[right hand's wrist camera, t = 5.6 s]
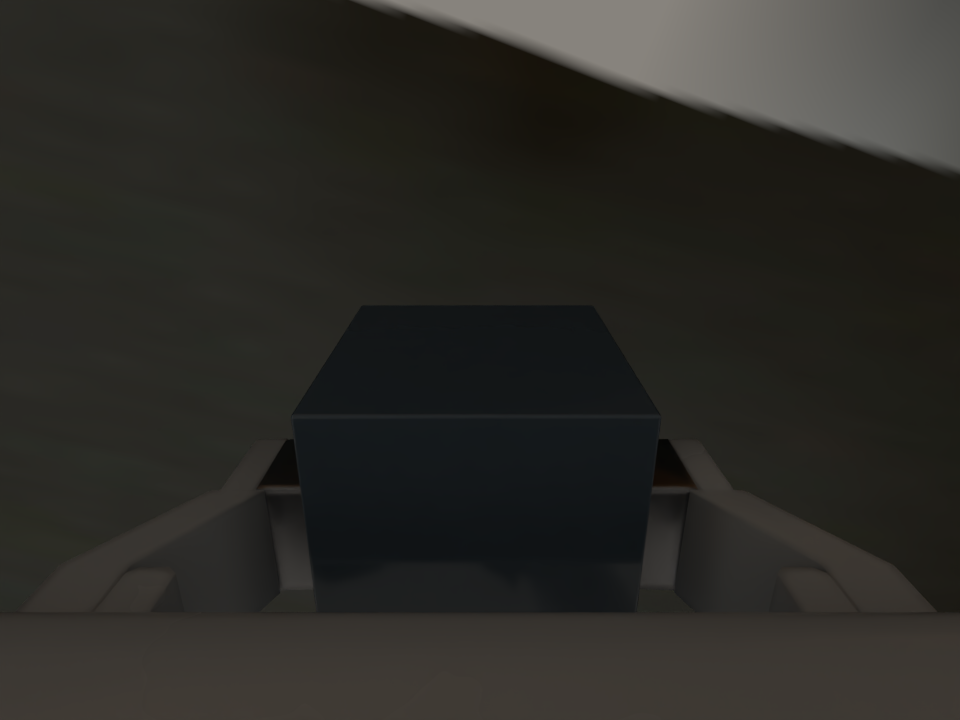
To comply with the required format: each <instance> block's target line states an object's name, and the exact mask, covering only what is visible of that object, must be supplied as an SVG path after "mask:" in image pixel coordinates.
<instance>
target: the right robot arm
mask: <svg viewBox="0 0 960 720" xmlns="http://www.w3.org/2000/svg"><path fill="white" fill-rule="evenodd" d="M297 589H313V582H312V574H311V567H310V559H309V552H308V544H307V536H306V529H305V521H304V514H303V506H302V498H301V491H300V483H299V476H298V468H297V460H296V453H295V445H294V439H290V440H288V439H260V440H256V441H255V442H254V443H253V445H252V446H251V447H250V449H249V450H248V452H247V453H246V454H245V456H244V457H243V459H242V460H241V461H240V463H239V464H238V466H237V467H236V468H235V470H234V471H233V473H232V474H231V475H230V477H229V478H228V480H227V481H226V482H225V484H224V485H223V487H222V488H221V489H220V490H210V491H208V492H206V493H204V494H202V495H200V496H198V497H196V498H194V499H192V500H190V501H188V502H186V503H184V504H182V505H180V506H178V507H176V508H174V509H172V510H170V511H168V512H166V513H164V514H161V515H159V516H157V517H155V518H153V519H151V520H149V521H147V522H145V523H143V524H141V525H139V526H137V527H135V528H133V529H131V530H129V531H127V532H125V533H123V534H121V535H119V536H117V537H115V538H113V539H111V540H109V541H107V542H105V543H103V544H101V545H99V546H97V547H95V548H93V549H91V550H89V551H86V552H84V553H82V554H80V555H78V556H76V557H74V558H72V559H70V560H68V561H66V562H64V563H62V564H60V565H59V566H58V567H57V568H56V569H55V570H54V571H53V572H52V573H51V574H50V576H49V577H48V578H47V579H46V580H45V581H44V582H43V583H42V584H41V585H40V586H39V587H38V588H37V589H36V590H35V591H34V592H33V593H32V594H31V595H30V596H29V597H28V599H27V600H26V601H25V602H24V603H23V604H22V605H21V606H20V607H19V608H18V609H17V610H16V611H15V612H0V720H960V612H937V611H936V610H935V609H934V608H933V607H932V606H931V605H930V603H929V602H928V601H927V600H926V599H925V598H924V597H923V596H922V595H921V594H920V593H919V592H918V591H917V589H916V588H915V587H914V586H913V585H912V584H911V583H910V582H909V581H908V580H907V579H906V578H905V577H904V576H903V574H902V573H901V572H900V571H899V570H898V569H897V568H896V567H895V566H894V565H892V564H890V563H888V562H886V561H884V560H882V559H880V558H878V557H876V556H874V555H872V554H870V553H868V552H866V551H864V550H862V549H860V548H858V547H856V546H854V545H852V544H850V543H848V542H846V541H844V540H842V539H840V538H838V537H836V536H834V535H832V534H830V533H828V532H826V531H824V530H822V529H820V528H818V527H816V526H814V525H812V524H810V523H808V522H806V521H804V520H802V519H800V518H798V517H796V516H794V515H792V514H790V513H788V512H786V511H784V510H782V509H780V508H778V507H776V506H774V505H772V504H770V503H768V502H766V501H764V500H762V499H760V498H758V497H756V496H754V495H752V494H750V493H748V492H746V491H744V490H734V489H733V488H732V486H731V485H730V483H729V482H728V481H727V479H726V478H725V476H724V475H723V474H722V472H721V471H720V469H719V468H718V467H717V465H716V464H715V462H714V461H713V459H712V458H711V457H710V455H709V454H708V452H707V451H706V450H705V448H704V447H703V445H702V444H701V442H700V441H699V440H697V439H694V438H692V439H669V440H668V439H658V447H657V455H656V463H655V471H654V479H653V487H652V495H651V503H650V511H649V519H648V527H647V534H646V542H645V550H644V558H643V566H642V574H641V582H640V589H656V590H675V591H674V593H676V594H677V595H678V596H679V597H680V598H681V599H682V600H683V601H684V602H685V603H686V604H688V605H689V606H690V607H691V608H692V609H693V610H694V611H695V612H259V611H261V610H262V609H263V608H264V607H265V606H266V605H267V604H268V603H269V602H271V601H272V600H273V599H274V598H275V597H276V596H277V595H278V594H279V593H280V590H297Z"/></svg>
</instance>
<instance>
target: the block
mask: <svg viewBox="0 0 960 720" xmlns="http://www.w3.org/2000/svg"><path fill="white" fill-rule="evenodd" d="M291 422H292V430H293V438H294V445H295V453H296V460H297V468H298V476H299V483H300V491H301V498H302V506H303V514H304V521H305V529H306V536H307V544H308V552H309V559H310V567H311V574H312V582H313V589H314V597H315V605H316V612H637V606H638V598H639V590H640V582H641V574H642V566H643V558H644V550H645V542H646V534H647V527H648V519H649V511H650V503H651V495H652V487H653V479H654V471H655V463H656V455H657V447H658V439H659V431H660V424H661V415H660V413H659V412H658V410H657V409H656V407H655V405H654V404H653V402H652V400H651V399H650V397H649V396H648V394H647V392H646V391H645V389H644V387H643V386H642V384H641V383H640V381H639V379H638V378H637V376H636V374H635V373H634V371H633V370H632V368H631V366H630V365H629V363H628V361H627V360H626V358H625V357H624V355H623V353H622V352H621V350H620V348H619V347H618V345H617V344H616V342H615V340H614V339H613V337H612V335H611V334H610V332H609V331H608V329H607V327H606V326H605V324H604V322H603V321H602V319H601V318H600V316H599V314H598V313H597V311H596V309H595V308H594V306H592V305H363V306H361V308H360V309H359V311H358V312H357V314H356V315H355V317H354V318H353V320H352V322H351V323H350V325H349V326H348V328H347V329H346V331H345V333H344V334H343V336H342V337H341V339H340V340H339V342H338V343H337V345H336V347H335V348H334V350H333V351H332V353H331V354H330V356H329V358H328V359H327V361H326V362H325V364H324V365H323V367H322V368H321V370H320V372H319V373H318V375H317V376H316V378H315V379H314V381H313V382H312V384H311V386H310V387H309V389H308V390H307V392H306V393H305V395H304V397H303V398H302V400H301V401H300V403H299V404H298V406H297V407H296V409H295V411H294V412H293V414H292V416H291Z"/></svg>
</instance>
